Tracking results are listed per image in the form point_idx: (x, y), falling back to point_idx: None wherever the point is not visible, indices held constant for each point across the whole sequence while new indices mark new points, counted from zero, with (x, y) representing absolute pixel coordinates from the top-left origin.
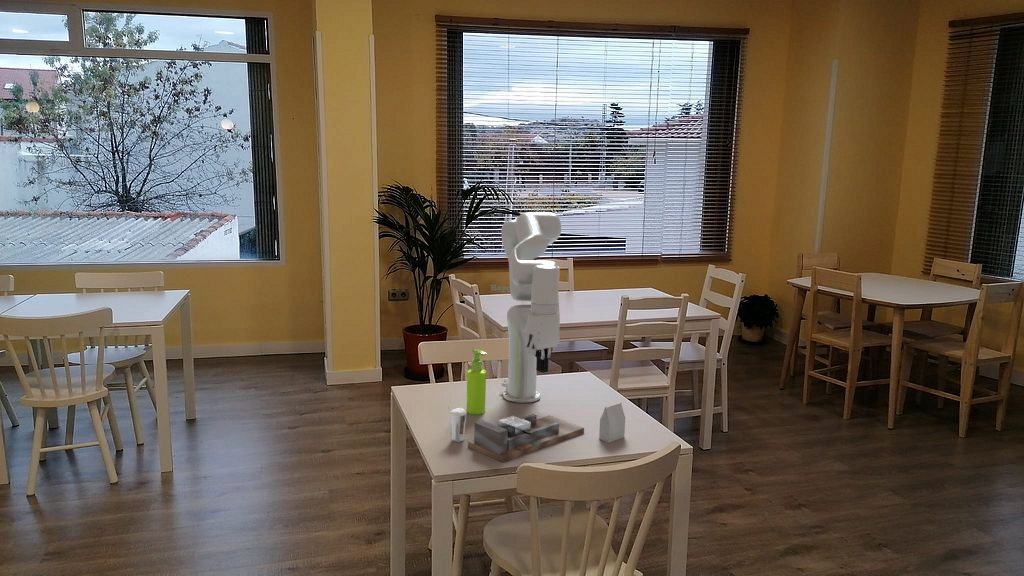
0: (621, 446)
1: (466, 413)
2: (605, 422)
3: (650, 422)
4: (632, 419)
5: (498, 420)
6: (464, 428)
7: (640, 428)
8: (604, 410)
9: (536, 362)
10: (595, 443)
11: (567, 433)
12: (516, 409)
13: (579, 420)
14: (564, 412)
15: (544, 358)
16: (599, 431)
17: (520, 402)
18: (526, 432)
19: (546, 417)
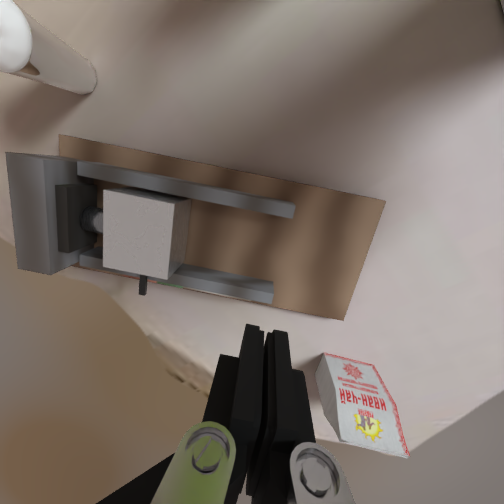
0: (309, 398)
1: (19, 68)
2: (328, 401)
3: (488, 397)
4: (492, 362)
5: (103, 192)
6: (62, 83)
7: (435, 393)
8: (339, 426)
9: (240, 365)
10: (293, 357)
11: (282, 307)
12: (422, 45)
13: (420, 267)
14: (468, 201)
15: (257, 480)
16: (327, 365)
17: (502, 7)
18: (139, 281)
19: (363, 204)
